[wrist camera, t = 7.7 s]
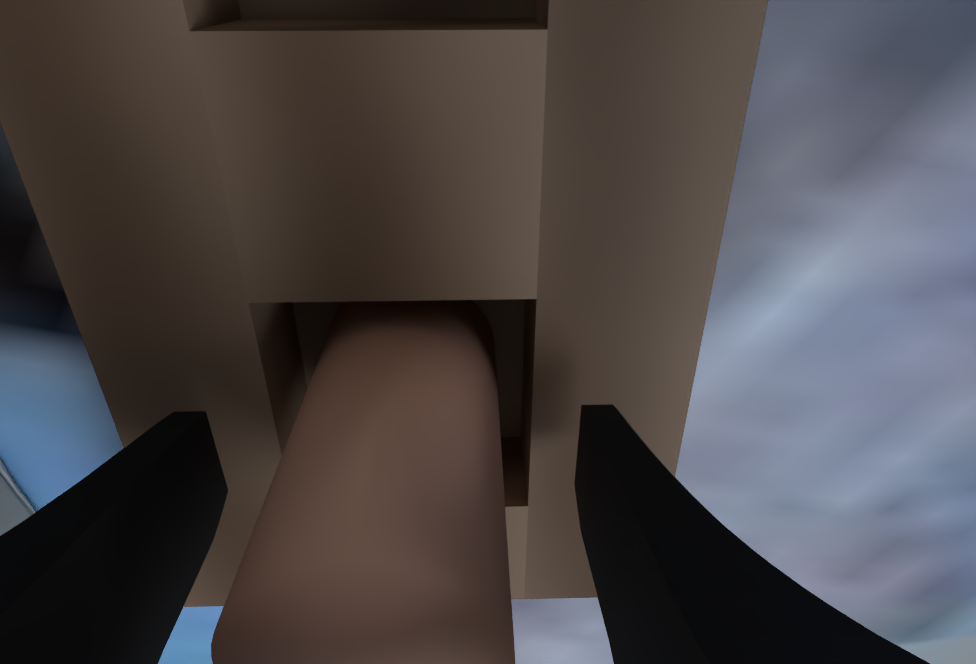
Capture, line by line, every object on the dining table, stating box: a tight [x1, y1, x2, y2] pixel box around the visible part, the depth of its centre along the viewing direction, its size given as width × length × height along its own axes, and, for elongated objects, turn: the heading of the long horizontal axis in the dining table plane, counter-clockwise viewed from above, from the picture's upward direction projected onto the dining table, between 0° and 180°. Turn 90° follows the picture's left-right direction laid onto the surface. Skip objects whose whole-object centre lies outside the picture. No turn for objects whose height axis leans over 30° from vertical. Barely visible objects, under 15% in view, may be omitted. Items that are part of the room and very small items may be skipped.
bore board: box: [0, 0, 768, 607], centre depth 12 cm, size 12×22×3 cm, turn 0°
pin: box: [211, 300, 515, 664], centre depth 12 cm, size 4×4×8 cm
